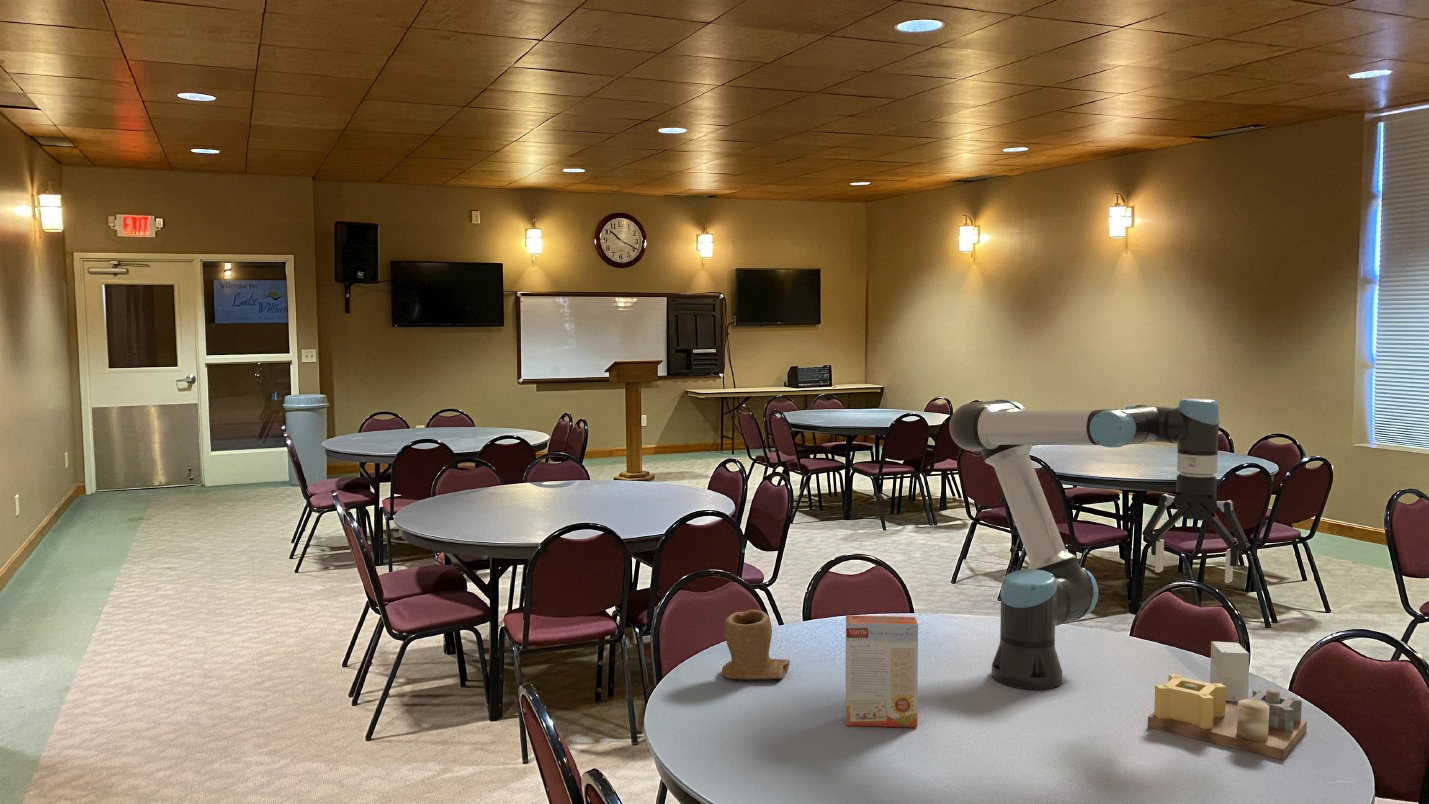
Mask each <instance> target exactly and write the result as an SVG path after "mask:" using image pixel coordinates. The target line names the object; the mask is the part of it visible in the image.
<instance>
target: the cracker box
mask: <svg viewBox="0 0 1429 804" xmlns="http://www.w3.org/2000/svg"><path fill="white" fill-rule="evenodd" d="M918 647H919V623H918V621H917V618H916V616H899V615H898V616H897V615H896V616H893V615H890V616H888V615H887V616H886V615H883V616H882V615H878V616H877V615H846V616H845V722H846V724H845V725H846V726H849V727H850V726H853V727H855V726H857V727H859V726H860V727H886V728H887V727H888V728H889V727H892V728H918V702H919V701H918V700H919V699H918V695H919V693H918V692H919V691H918V690H919V687H918V686H919V685H918V684H919V683H918V681H919V680H918V679H919V678H918V677H919V671H918V670H919V669H918V667H919V664H918V663H919V661H918V660H919V659H918V658H919V654H918V653H919V652H918V651H919V648H918Z"/></svg>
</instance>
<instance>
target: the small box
mask: <svg viewBox="0 0 1429 804" xmlns="http://www.w3.org/2000/svg"><path fill="white" fill-rule="evenodd" d="M1209 670H1210V671H1209V672H1210V676H1209V683H1221V684H1222V685H1224V686H1226V701H1225V702H1237V703H1238V701H1240V700H1244V699H1249V673H1250V672H1249V671H1250V653H1249V652H1248V650H1246V649H1245V648H1244V647H1243V646H1242V645H1241V644H1240V643H1239V642H1228V641H1213V640H1212V641H1211V642H1210V669H1209Z"/></svg>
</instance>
